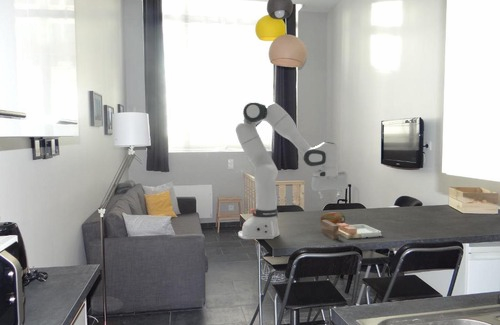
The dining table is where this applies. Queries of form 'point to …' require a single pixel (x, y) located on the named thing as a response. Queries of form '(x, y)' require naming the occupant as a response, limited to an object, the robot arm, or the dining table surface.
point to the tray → (367, 231)
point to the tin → (333, 217)
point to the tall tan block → (329, 229)
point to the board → (346, 235)
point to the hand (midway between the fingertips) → (330, 198)
